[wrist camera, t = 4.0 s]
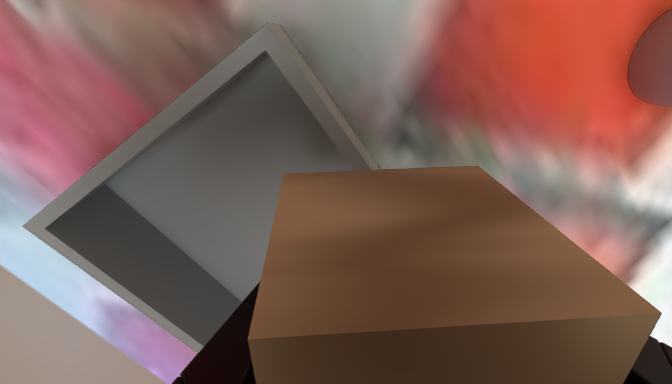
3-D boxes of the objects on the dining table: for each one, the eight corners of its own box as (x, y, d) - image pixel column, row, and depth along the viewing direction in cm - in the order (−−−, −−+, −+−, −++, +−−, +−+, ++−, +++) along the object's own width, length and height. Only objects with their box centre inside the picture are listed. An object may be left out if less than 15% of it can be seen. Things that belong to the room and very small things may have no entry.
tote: (443, 259, 22) (475, 317, 18) (288, 345, 25) (283, 414, 20) (281, 25, 15) (267, 22, 11) (93, 178, 18) (21, 226, 14)
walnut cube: (478, 165, 8) (662, 313, 4) (451, 309, 11) (552, 510, 6) (283, 173, 8) (247, 338, 4) (297, 319, 10) (285, 535, 6)
